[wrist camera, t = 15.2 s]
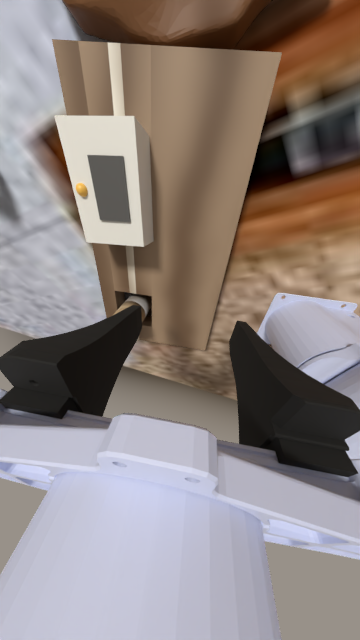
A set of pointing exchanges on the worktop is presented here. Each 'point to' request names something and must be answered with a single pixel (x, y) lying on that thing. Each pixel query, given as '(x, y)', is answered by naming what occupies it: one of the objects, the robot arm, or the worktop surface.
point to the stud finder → (110, 177)
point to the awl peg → (137, 303)
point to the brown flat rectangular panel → (176, 167)
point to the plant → (167, 21)
